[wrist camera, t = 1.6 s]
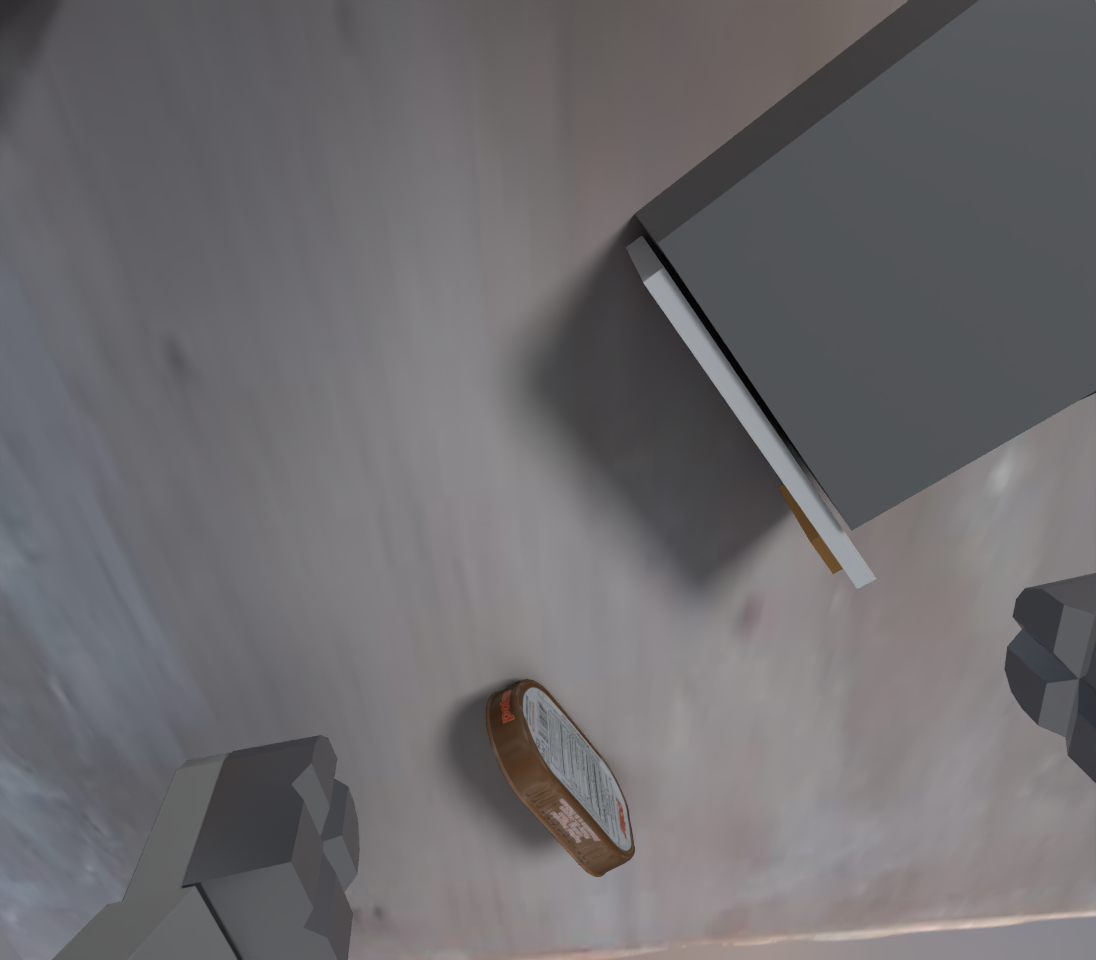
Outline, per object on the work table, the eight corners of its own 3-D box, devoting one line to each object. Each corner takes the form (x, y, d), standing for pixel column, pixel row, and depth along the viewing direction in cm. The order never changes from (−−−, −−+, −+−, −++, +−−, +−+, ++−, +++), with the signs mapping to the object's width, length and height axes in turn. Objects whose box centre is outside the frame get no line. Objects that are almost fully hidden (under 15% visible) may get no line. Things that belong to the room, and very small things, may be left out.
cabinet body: (930, -17, 33) (1069, -68, 24) (1071, 292, 39) (1225, 344, 30) (634, 213, 37) (657, 243, 28) (801, 459, 43) (863, 548, 34)
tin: (487, 668, 51) (474, 765, 43) (525, 649, 50) (518, 744, 42) (599, 799, 56) (605, 905, 48) (635, 784, 55) (647, 889, 48)
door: (642, 235, 37) (663, 267, 29) (818, 493, 43) (876, 578, 35) (616, 255, 38) (630, 291, 30) (794, 507, 44) (846, 595, 36)
